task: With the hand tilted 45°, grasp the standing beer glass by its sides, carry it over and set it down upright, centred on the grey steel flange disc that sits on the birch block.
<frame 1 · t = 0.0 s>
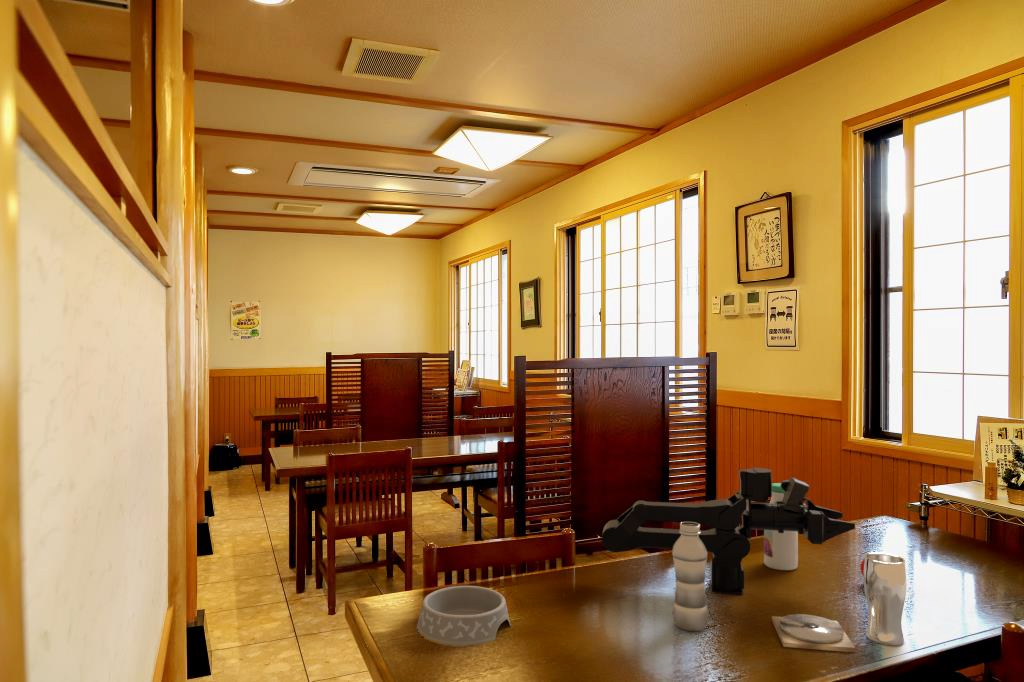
hand: (848, 520, 147), 17 cm above the table, tool horizontal, fingers open, 9 cm apart
beer glass: (884, 640, 126), on the table
flange: (811, 628, 128), on the base plate, point 1 cm above the table
apple: (879, 588, 153), on the table
dog bowl: (464, 628, 133), on the table
plastic bottle: (690, 629, 131), on the table
base plate: (811, 635, 128), on the table
milk bottle: (780, 566, 168), on the table
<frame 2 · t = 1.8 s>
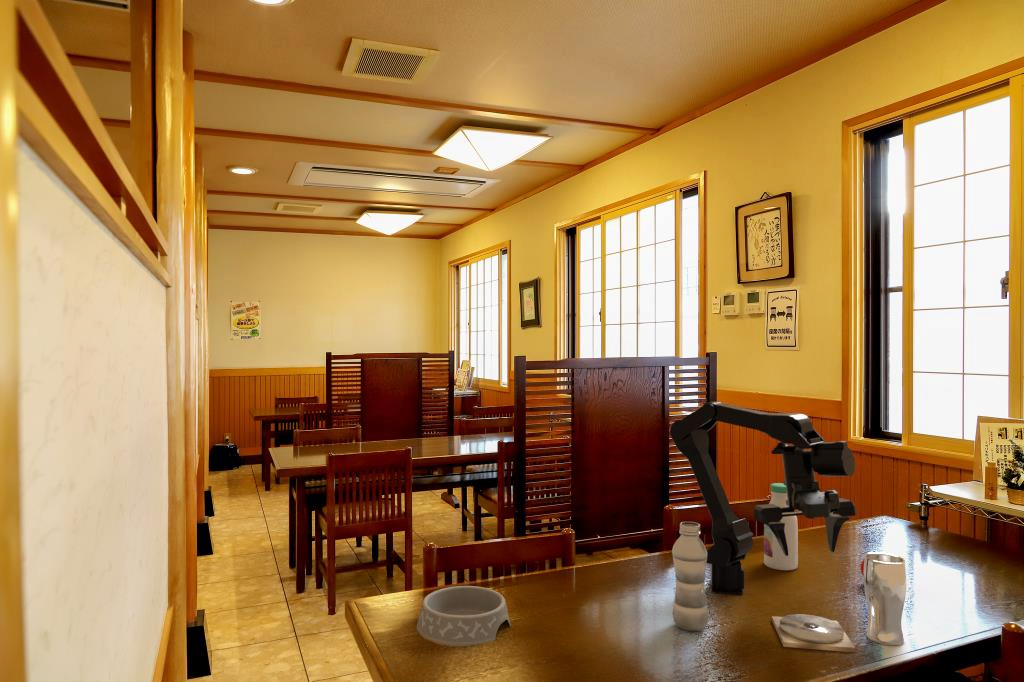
hand: (809, 553, 138), 12 cm above the table, tool pointing down, fingers open, 9 cm apart
nothing on the table moved.
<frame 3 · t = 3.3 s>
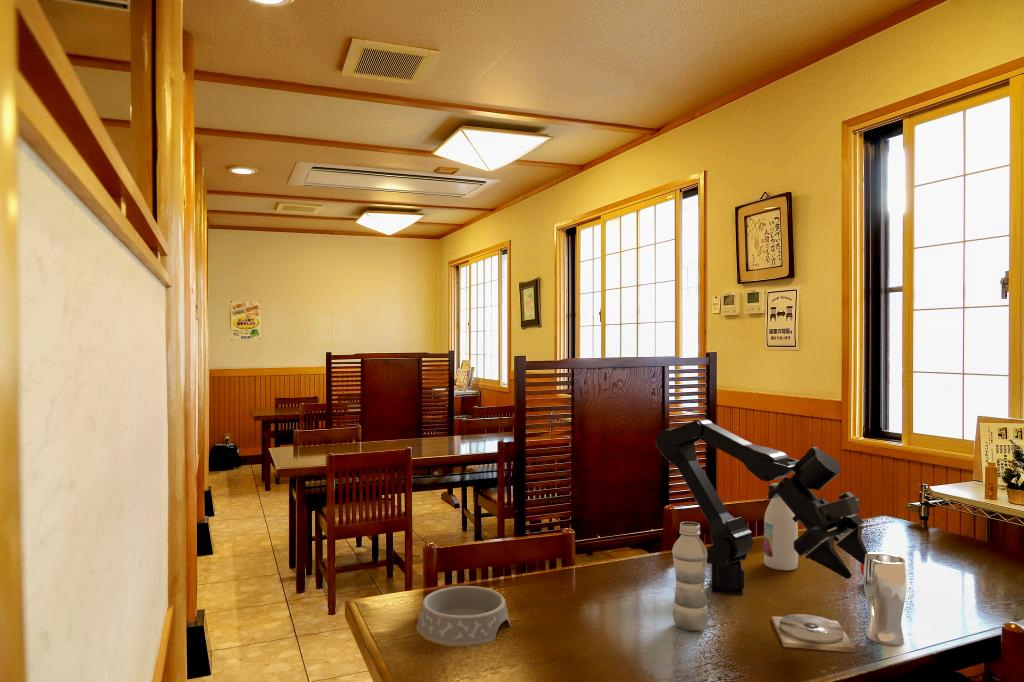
hand: (860, 572, 130), 11 cm above the table, tool tilted 45°, fingers open, 9 cm apart
nothing on the table moved.
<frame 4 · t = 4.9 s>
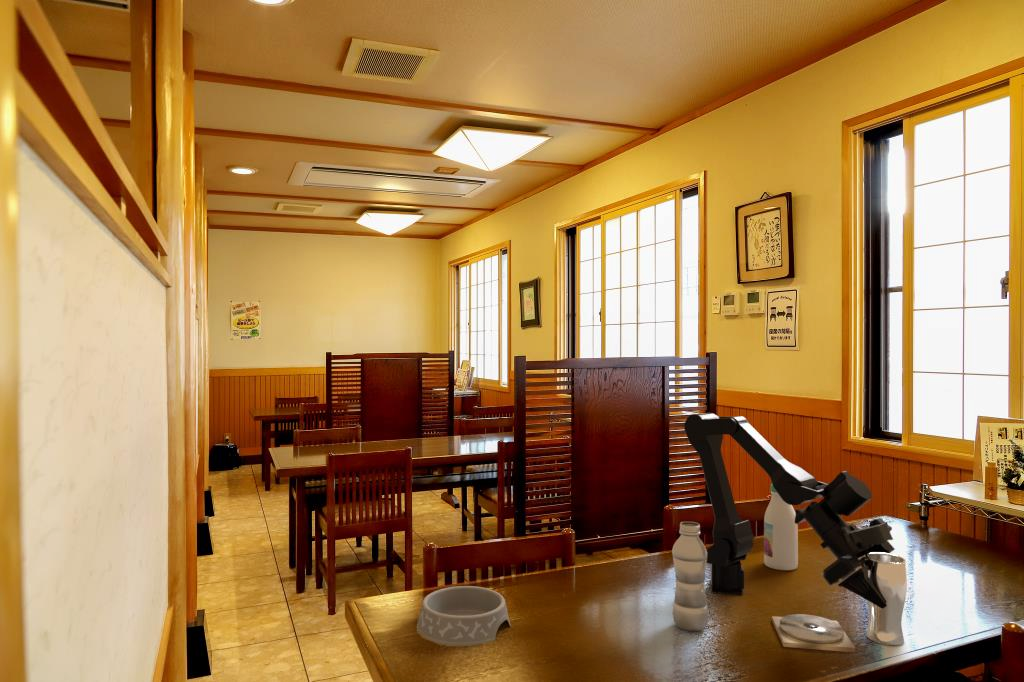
hand: (893, 602, 125), 7 cm above the table, tool tilted 45°, fingers closed on beer glass, 7 cm apart
beer glass: (885, 639, 126), on the table, touching gripper
everything else where it was.
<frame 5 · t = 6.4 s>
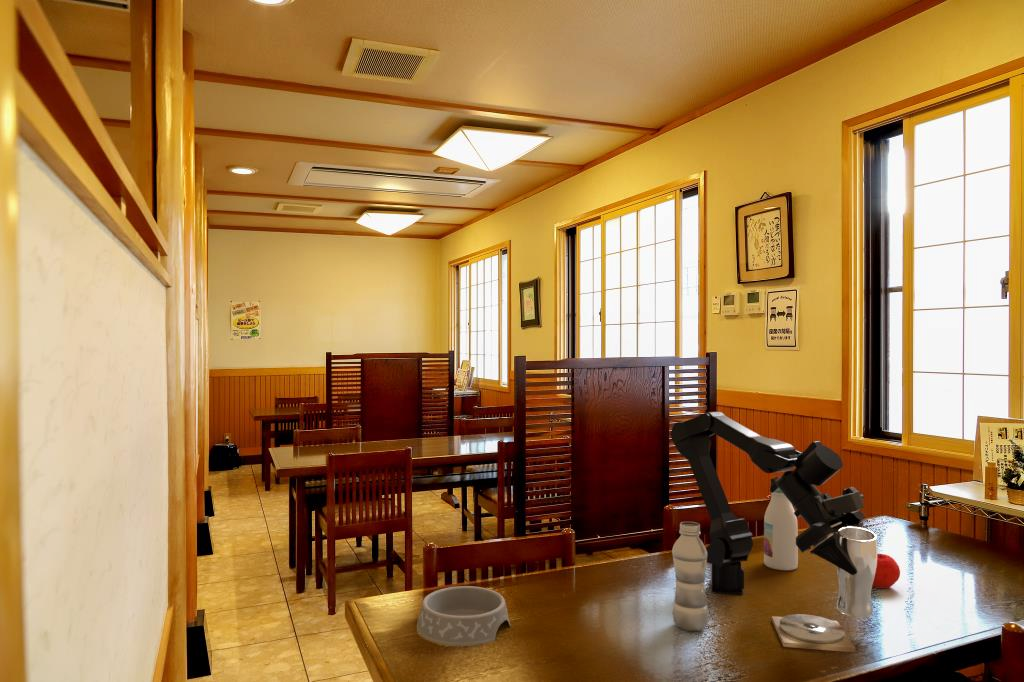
hand: (863, 569, 127), 13 cm above the table, tool tilted 45°, fingers closed on beer glass, 7 cm apart
beer glass: (854, 610, 129), point 4 cm above the table, touching gripper
everything else where it was.
when the fingers open (11 cm above the table, at t = 8.1 s): beer glass stays where it is, resting on flange.
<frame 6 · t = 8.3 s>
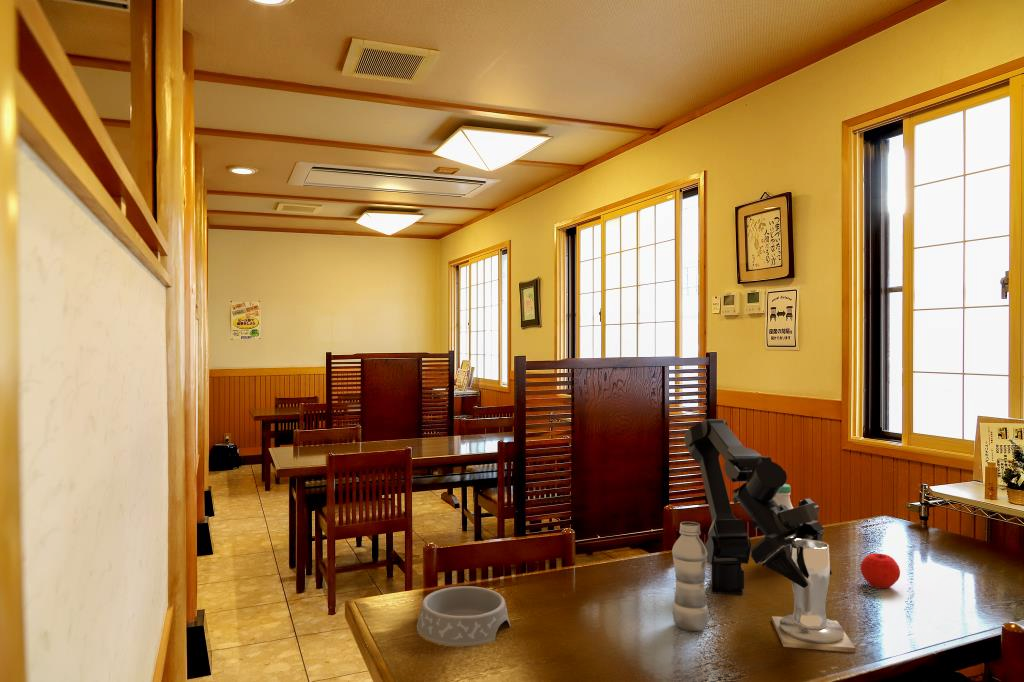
hand: (818, 580, 127), 11 cm above the table, tool tilted 45°, fingers open, 9 cm apart
beer glass: (809, 624, 129), point 2 cm above the table, touching flange
everything else where it was.
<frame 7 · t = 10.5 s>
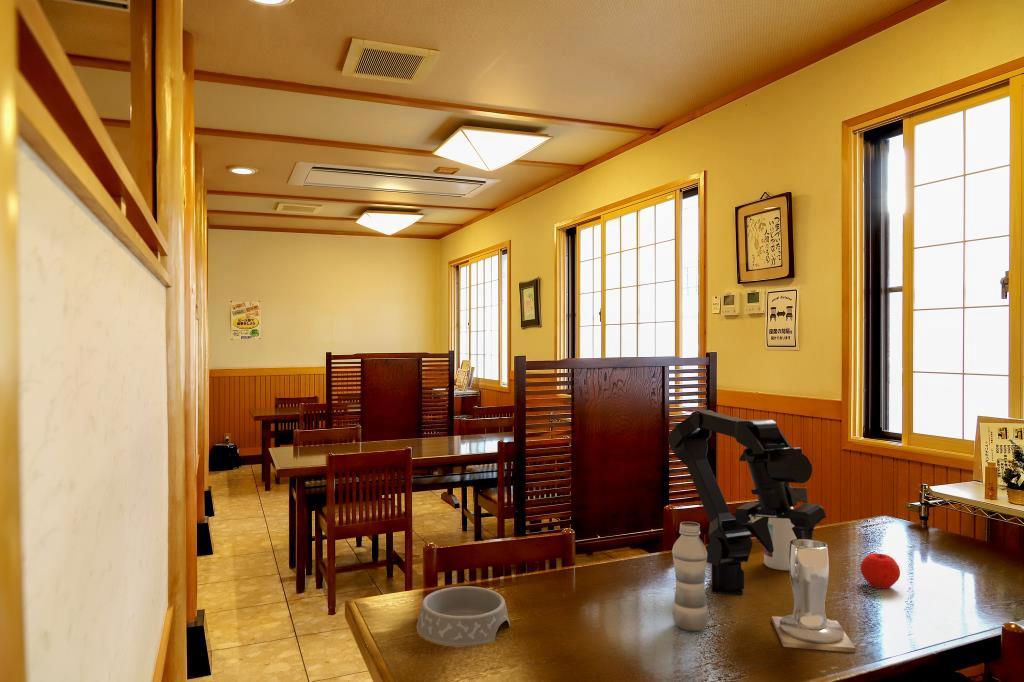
hand: (789, 554, 141), 11 cm above the table, tool tilted 15°, fingers open, 9 cm apart
nothing on the table moved.
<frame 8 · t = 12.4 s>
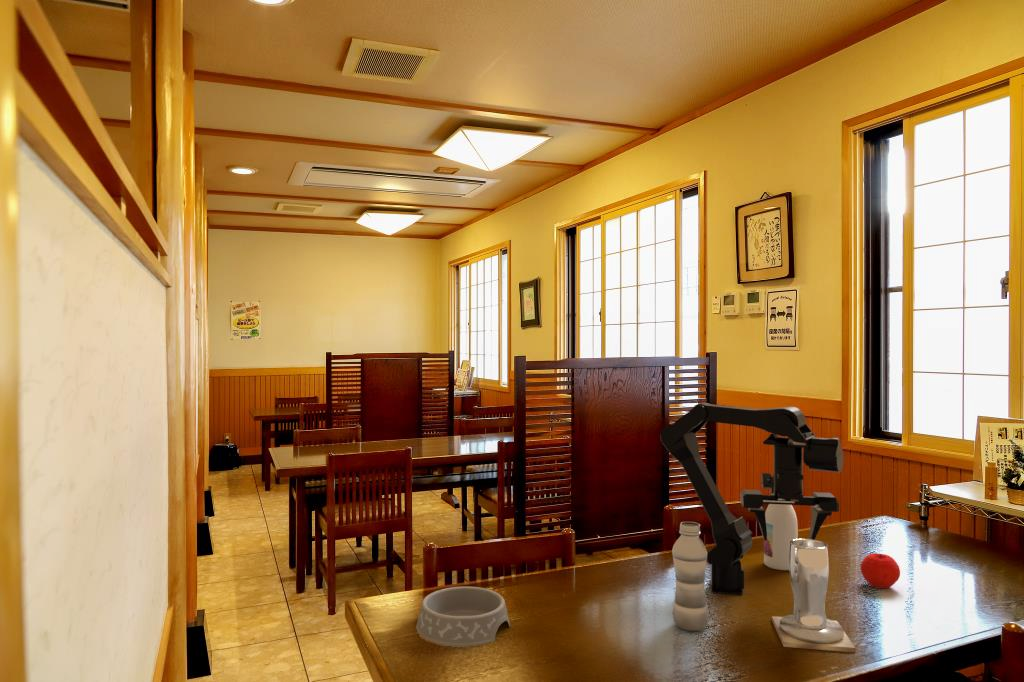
hand: (788, 541, 144), 13 cm above the table, tool pointing down, fingers open, 9 cm apart
nothing on the table moved.
at the end: beer glass 1.1 cm from the flange (horizontally); beer glass tilted 1°; the gripper is holding nothing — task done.
